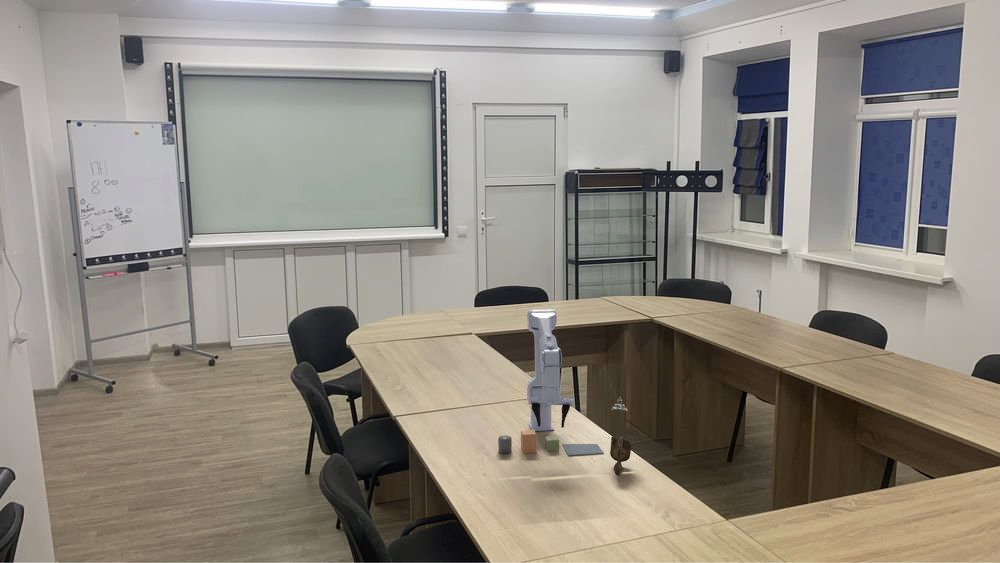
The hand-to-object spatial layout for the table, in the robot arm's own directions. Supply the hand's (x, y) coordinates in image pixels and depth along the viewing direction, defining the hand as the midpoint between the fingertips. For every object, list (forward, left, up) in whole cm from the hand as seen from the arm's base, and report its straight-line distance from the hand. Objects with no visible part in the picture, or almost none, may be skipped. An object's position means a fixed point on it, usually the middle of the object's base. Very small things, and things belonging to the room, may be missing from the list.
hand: (551, 426), depth 239 cm
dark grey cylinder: (-7, -14, -11) cm, 19 cm away
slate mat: (-7, +12, -11) cm, 17 cm away
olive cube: (-7, +2, -11) cm, 13 cm away
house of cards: (-40, +36, -11) cm, 55 cm away
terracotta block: (-7, -6, -11) cm, 14 cm away
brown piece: (+14, +20, -11) cm, 27 cm away
